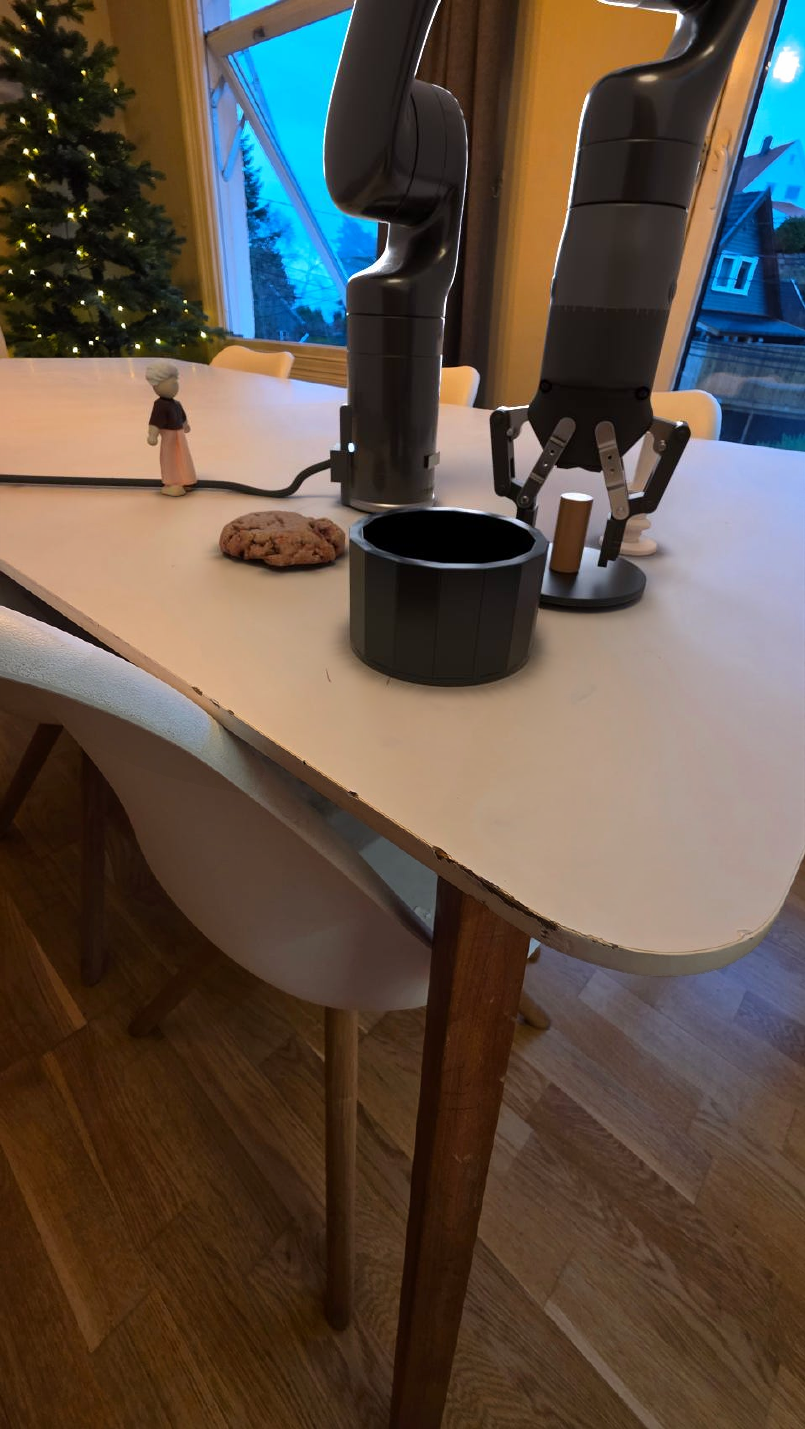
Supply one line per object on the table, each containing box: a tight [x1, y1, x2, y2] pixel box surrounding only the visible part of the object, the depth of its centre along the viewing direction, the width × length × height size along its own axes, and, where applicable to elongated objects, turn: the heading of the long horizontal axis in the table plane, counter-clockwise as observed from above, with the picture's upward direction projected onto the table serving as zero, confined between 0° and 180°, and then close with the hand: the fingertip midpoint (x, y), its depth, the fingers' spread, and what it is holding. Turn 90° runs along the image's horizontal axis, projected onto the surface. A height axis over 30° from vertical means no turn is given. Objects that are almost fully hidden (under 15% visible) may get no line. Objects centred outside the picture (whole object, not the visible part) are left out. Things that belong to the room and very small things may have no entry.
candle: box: [598, 432, 659, 557], centre depth 56 cm, size 5×5×10 cm
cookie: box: [218, 510, 346, 567], centre depth 53 cm, size 10×11×3 cm
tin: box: [348, 506, 550, 687], centre depth 39 cm, size 12×12×7 cm
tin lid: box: [540, 492, 648, 608], centre depth 48 cm, size 13×13×7 cm
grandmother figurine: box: [145, 358, 198, 497], centre depth 66 cm, size 8×4×13 cm, turn 179°
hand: (562, 558), depth 49 cm, fingers open, 5 cm apart
